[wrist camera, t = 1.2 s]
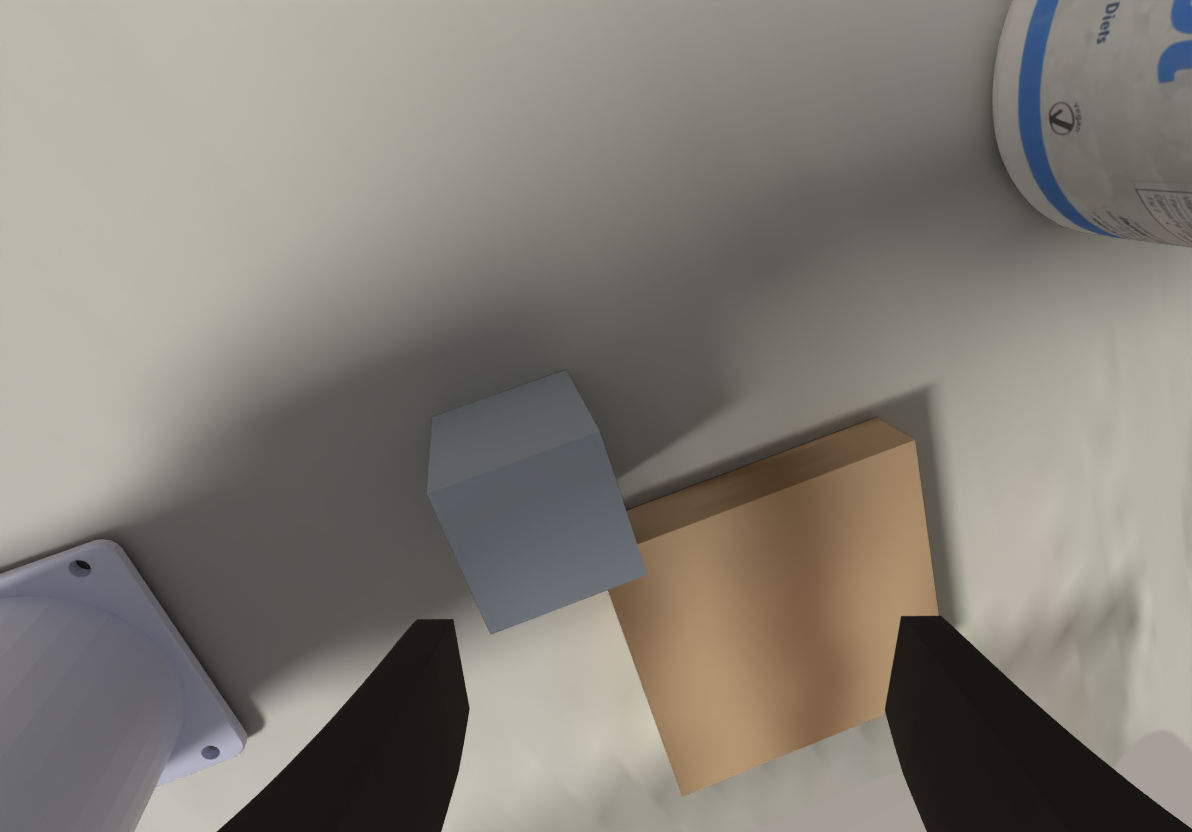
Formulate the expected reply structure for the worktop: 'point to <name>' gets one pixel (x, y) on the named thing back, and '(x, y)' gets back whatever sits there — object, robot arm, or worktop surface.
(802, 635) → the slab
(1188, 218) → the supplement tub
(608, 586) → the block
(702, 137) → the worktop surface
